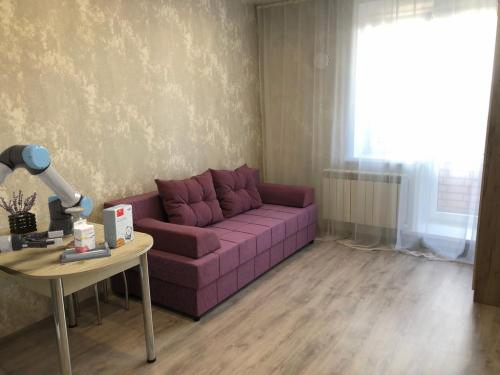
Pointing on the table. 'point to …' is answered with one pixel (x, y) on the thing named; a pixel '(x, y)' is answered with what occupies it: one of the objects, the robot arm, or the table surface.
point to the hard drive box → (118, 225)
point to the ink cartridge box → (84, 236)
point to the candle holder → (75, 220)
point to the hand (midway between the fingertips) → (62, 237)
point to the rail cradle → (86, 253)
